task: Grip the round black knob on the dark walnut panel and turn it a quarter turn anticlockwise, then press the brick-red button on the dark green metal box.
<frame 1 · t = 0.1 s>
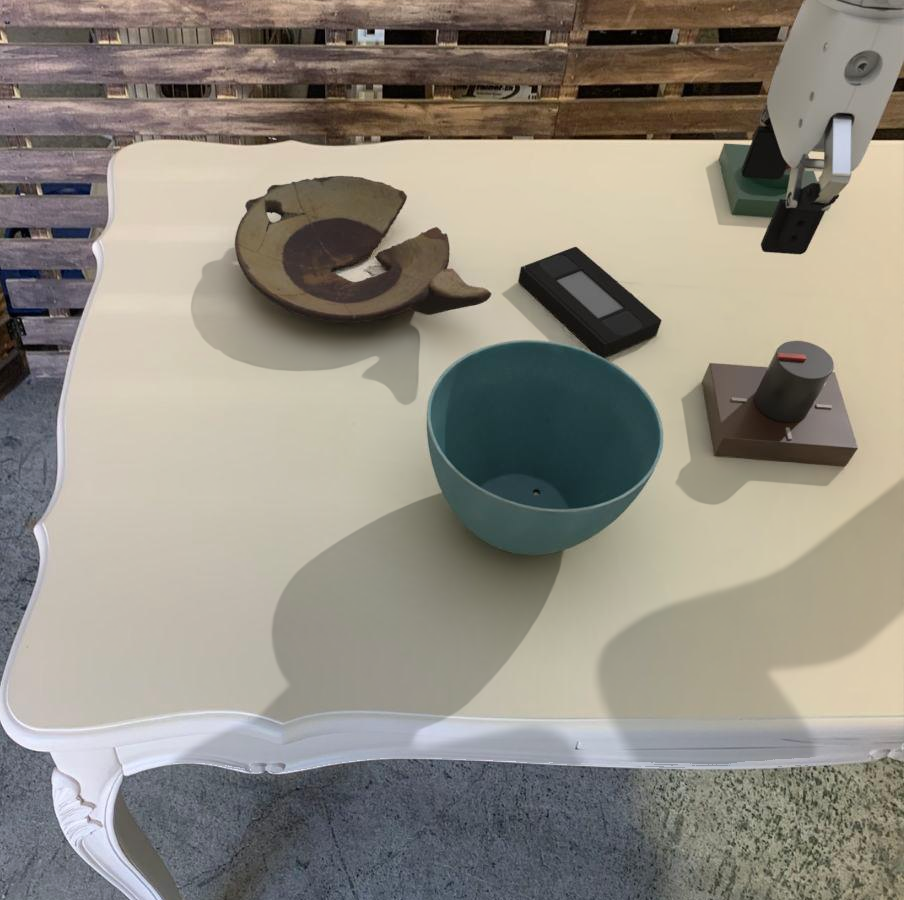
hand: (770, 212, 69), 22 cm above the table, tool pointing down, fingers open, 9 cm apart
broken bowl: (353, 292, 98), on the table
button: (780, 154, 106), point 4 cm above the table, slide at 0.1 cm
vhs tape: (585, 309, 96), on the table
knob: (793, 380, 82), point 5 cm above the table, hinge at 0.0°
button box: (766, 189, 110), on the table
panel: (771, 422, 86), on the table
plant pot: (520, 516, 79), on the table
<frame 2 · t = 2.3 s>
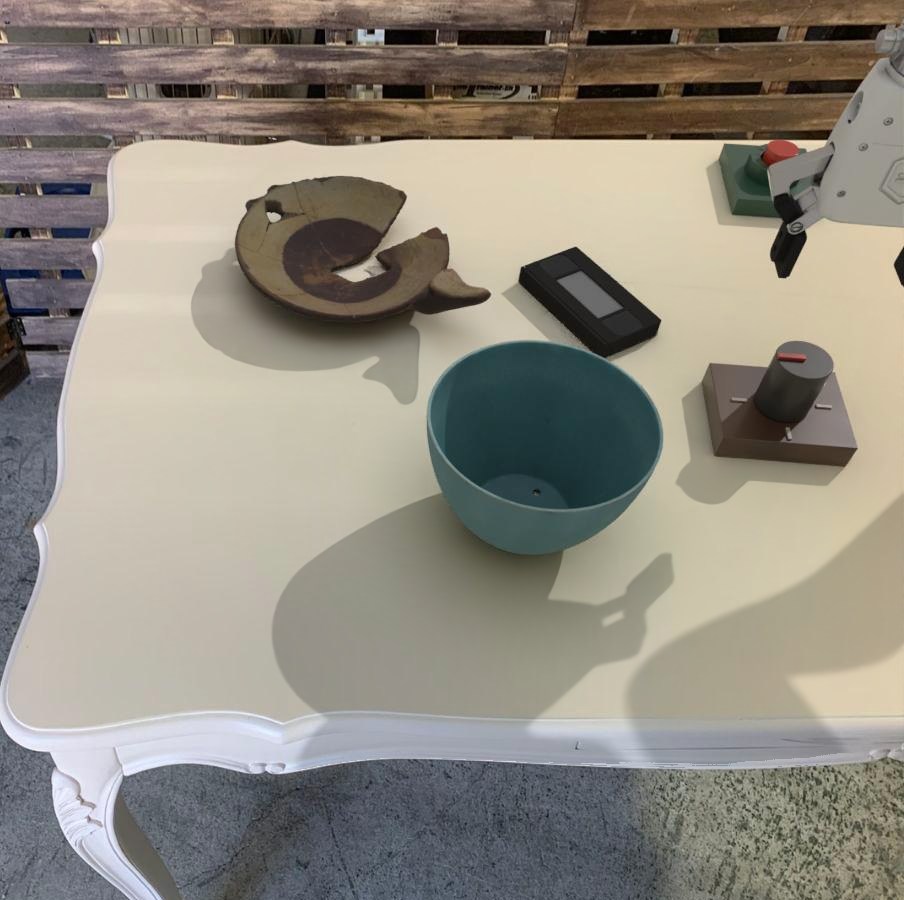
hand: (840, 272, 72), 17 cm above the table, tool pointing down, fingers open, 9 cm apart
nothing on the table moved.
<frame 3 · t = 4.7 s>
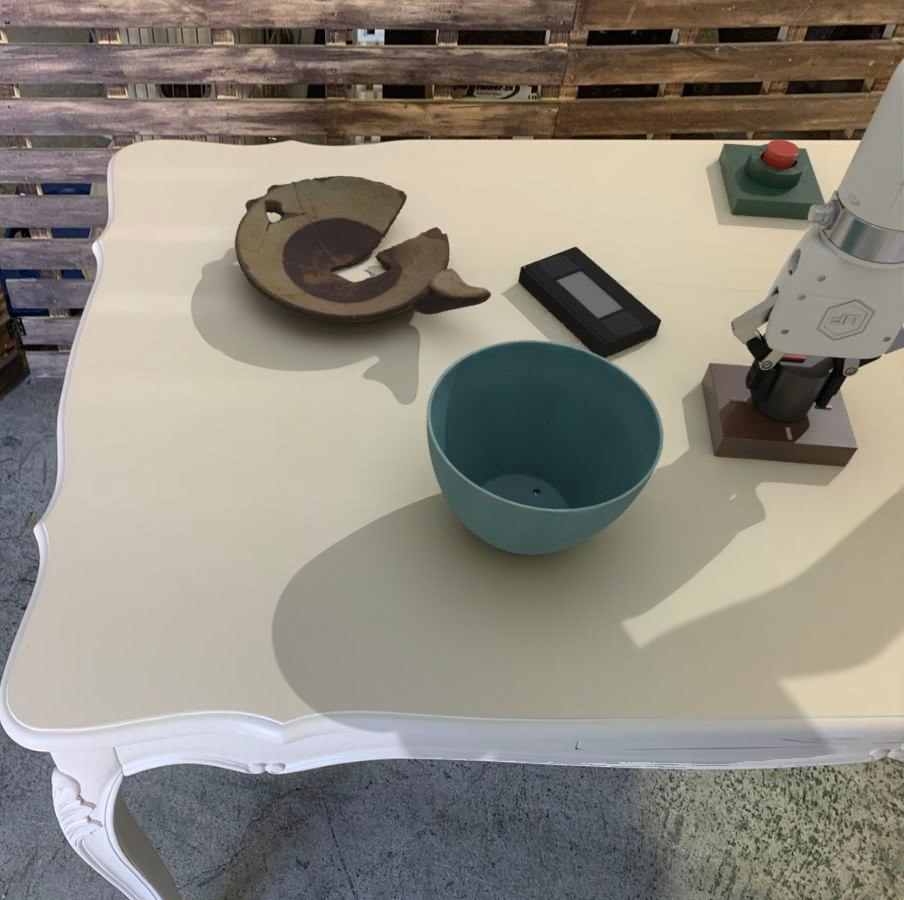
hand: (786, 393, 83), 4 cm above the table, tool pointing down, fingers closed on knob, 5 cm apart
knob: (793, 380, 82), point 5 cm above the table, hinge at -0.1°, touching gripper
everything else where it was.
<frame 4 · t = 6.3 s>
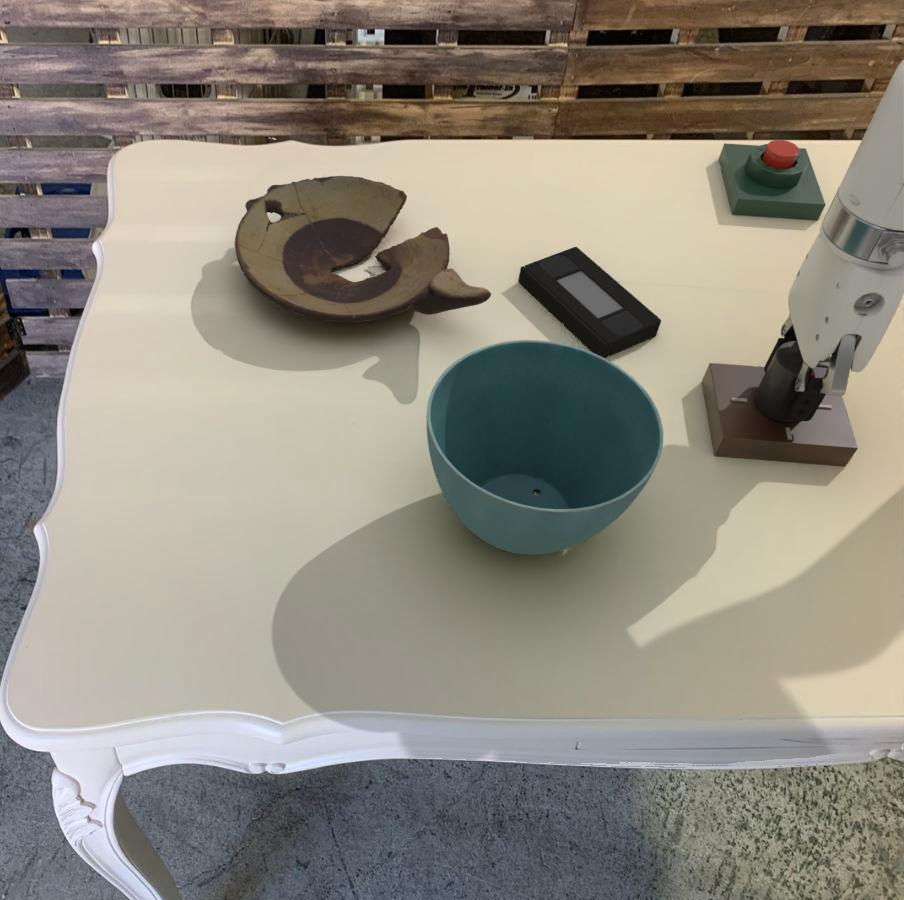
hand: (786, 393, 83), 4 cm above the table, tool pointing down, fingers closed on knob, 5 cm apart
knob: (793, 380, 82), point 5 cm above the table, hinge at 91.3°, touching gripper
everything else where it was.
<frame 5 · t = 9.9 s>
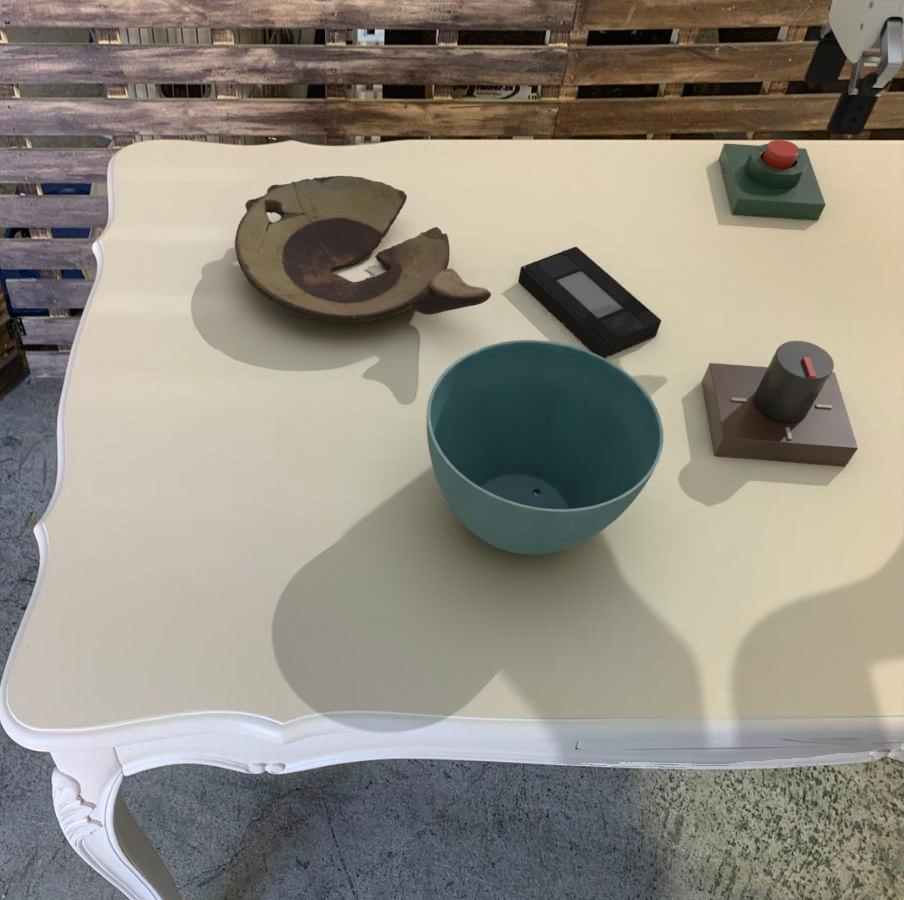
hand: (830, 106, 89), 17 cm above the table, tool pointing down, fingers open, 9 cm apart
knob: (793, 380, 82), point 5 cm above the table, hinge at 93.4°
everything else where it was.
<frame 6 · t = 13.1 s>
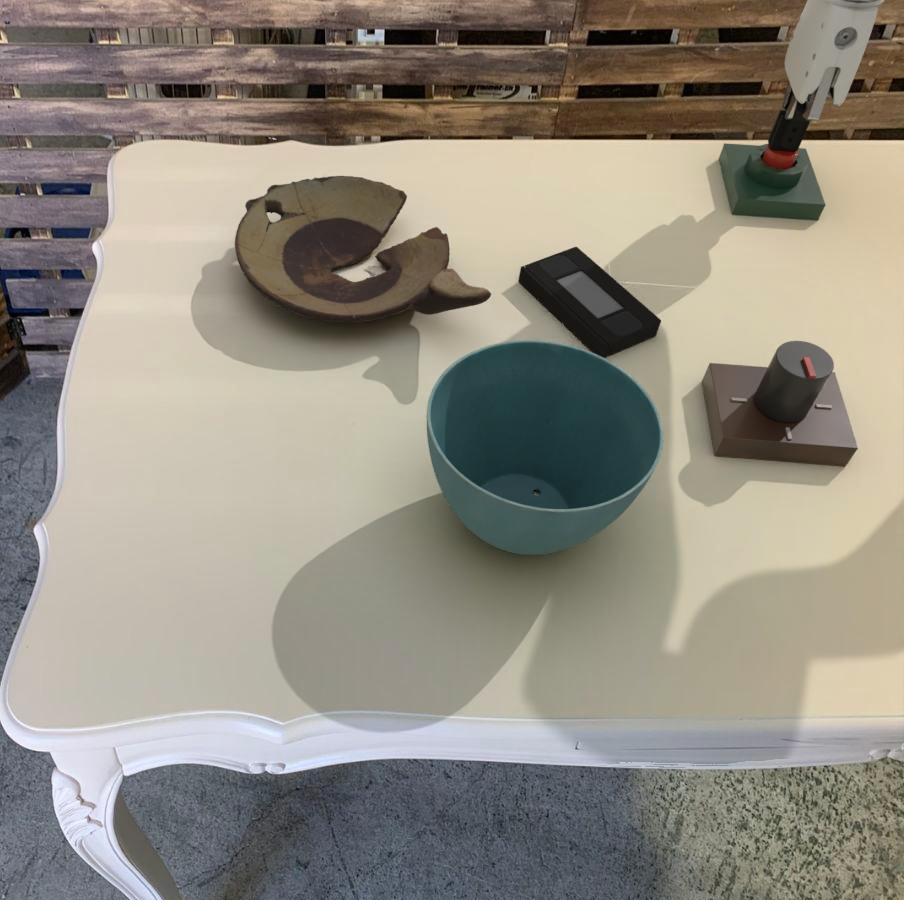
hand: (781, 147, 105), 5 cm above the table, tool pointing down, fingers closed
button: (780, 154, 106), point 4 cm above the table, slide at 0.1 cm, touching gripper
everything else where it was.
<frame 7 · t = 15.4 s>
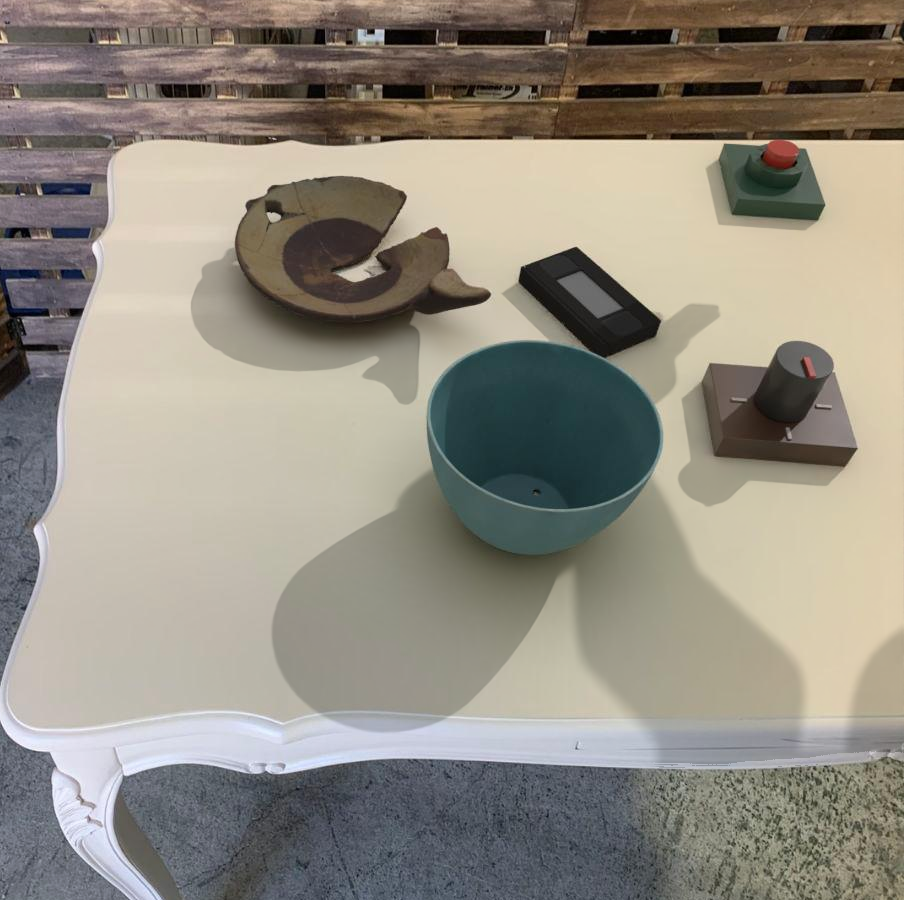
button: (780, 154, 106), point 4 cm above the table, slide at 0.1 cm
everything else where it was.
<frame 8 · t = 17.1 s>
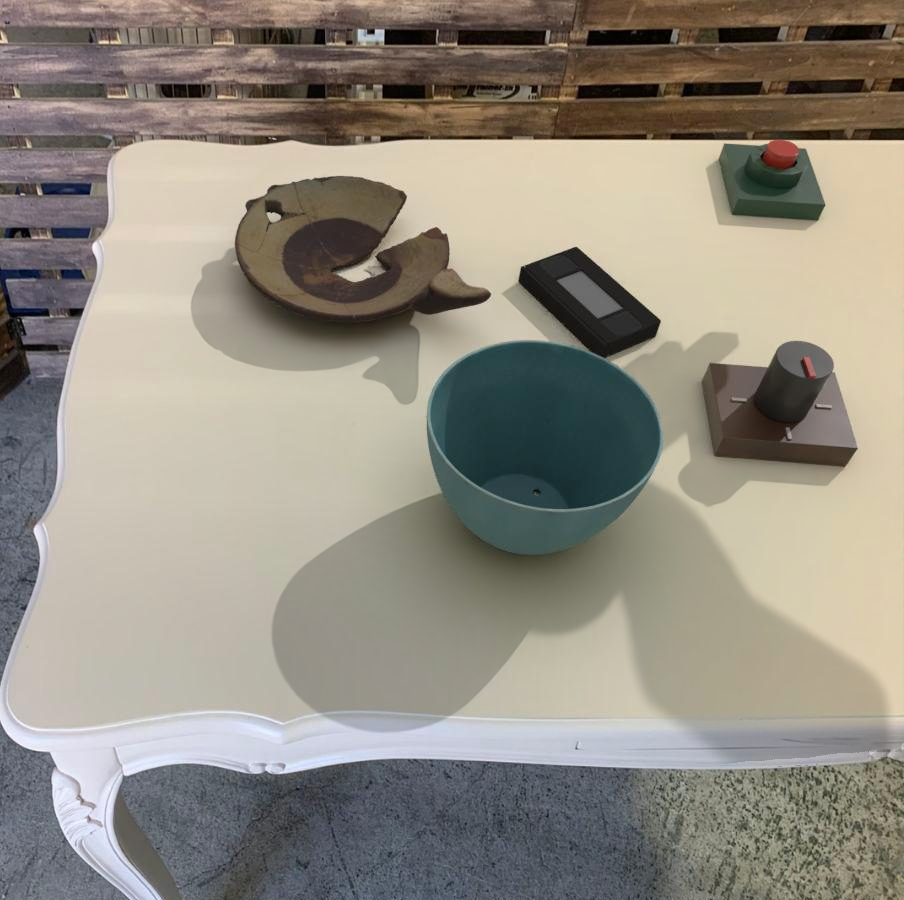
nothing on the table moved.
at the end: knob at +93° (first picture: +0°); button pushed in 1.1 cm at the most during the clip, back to where it started at the end; button slide at 0.1 cm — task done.
